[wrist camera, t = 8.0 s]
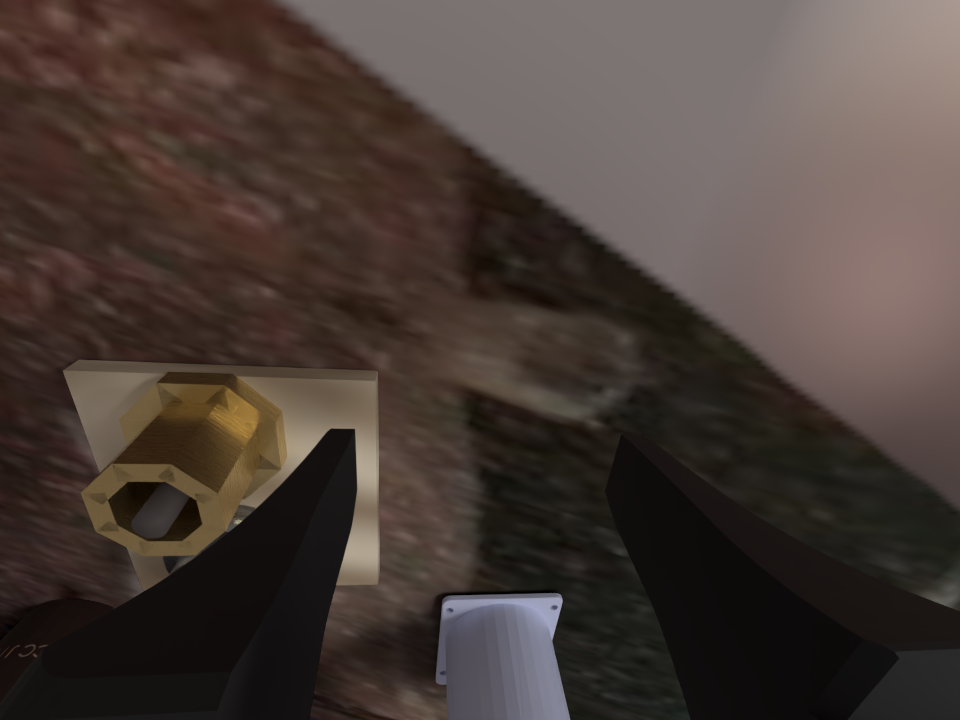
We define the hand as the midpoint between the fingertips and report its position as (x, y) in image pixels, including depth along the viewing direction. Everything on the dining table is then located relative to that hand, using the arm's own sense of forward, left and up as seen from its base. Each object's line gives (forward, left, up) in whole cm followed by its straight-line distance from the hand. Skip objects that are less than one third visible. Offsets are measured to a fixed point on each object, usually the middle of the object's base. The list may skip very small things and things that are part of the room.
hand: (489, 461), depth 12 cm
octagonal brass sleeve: (-6, +12, -9) cm, 16 cm away
